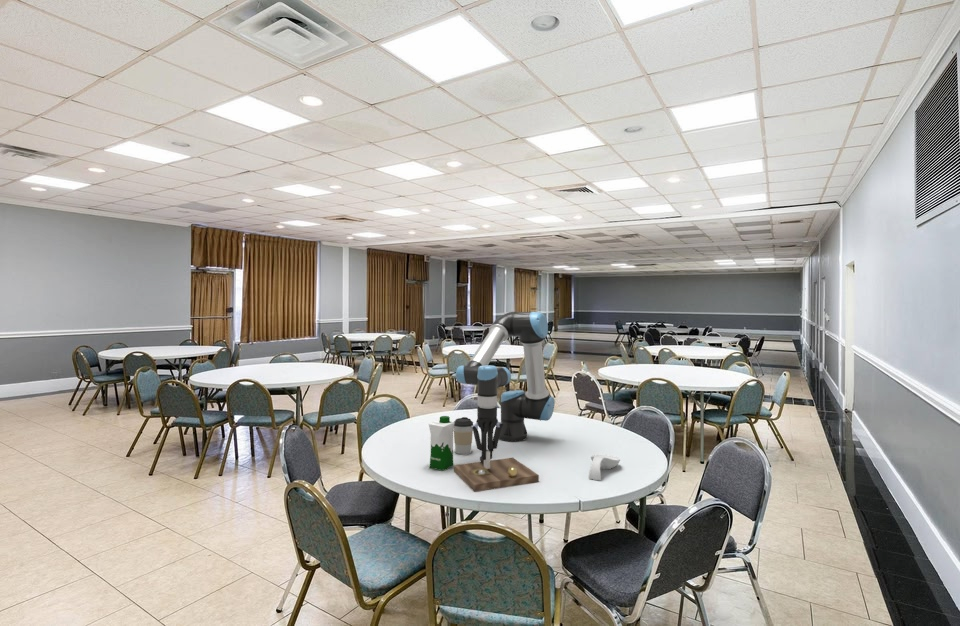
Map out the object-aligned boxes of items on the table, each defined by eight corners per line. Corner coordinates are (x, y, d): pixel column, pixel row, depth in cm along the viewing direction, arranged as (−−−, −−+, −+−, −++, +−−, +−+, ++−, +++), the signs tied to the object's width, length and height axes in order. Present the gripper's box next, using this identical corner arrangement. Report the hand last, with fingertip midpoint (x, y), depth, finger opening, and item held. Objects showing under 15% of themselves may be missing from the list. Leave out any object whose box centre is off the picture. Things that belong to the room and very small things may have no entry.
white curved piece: (594, 460, 205) (594, 444, 205) (622, 464, 200) (622, 447, 200) (580, 478, 184) (580, 460, 184) (611, 483, 179) (611, 464, 178)
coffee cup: (470, 455, 210) (470, 421, 209) (450, 454, 211) (450, 420, 211) (475, 449, 218) (475, 417, 218) (455, 448, 220) (456, 416, 220)
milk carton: (456, 465, 197) (456, 417, 197) (443, 472, 189) (443, 421, 189) (439, 461, 202) (439, 414, 201) (426, 468, 194) (426, 418, 193)
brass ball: (514, 474, 180) (514, 465, 180) (518, 477, 177) (519, 468, 177) (505, 475, 179) (506, 466, 178) (510, 479, 175) (510, 469, 175)
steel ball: (480, 470, 185) (474, 473, 183) (484, 466, 183) (478, 470, 181) (484, 477, 184) (479, 481, 182) (488, 474, 182) (483, 478, 180)
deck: (512, 463, 200) (512, 457, 200) (538, 481, 180) (538, 475, 180) (453, 471, 190) (453, 465, 190) (474, 491, 170) (474, 484, 170)
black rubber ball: (485, 461, 195) (485, 453, 195) (488, 463, 192) (489, 455, 192) (478, 462, 194) (478, 454, 194) (481, 464, 191) (481, 456, 191)
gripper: (498, 403, 189) (498, 462, 189) (467, 405, 184) (467, 466, 184) (506, 407, 182) (506, 468, 182) (475, 409, 177) (474, 472, 177)
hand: (486, 467), depth 183 cm, fingers closed
